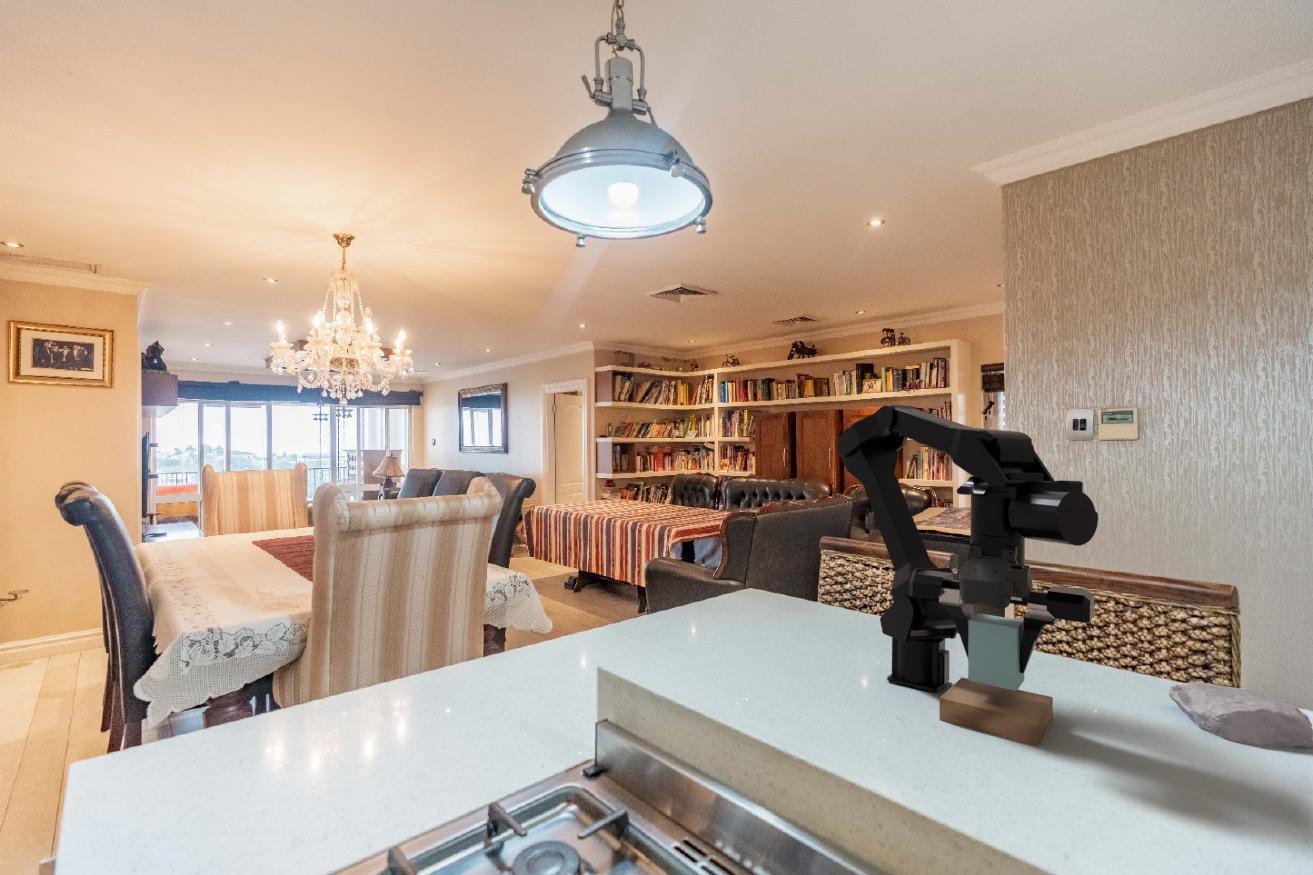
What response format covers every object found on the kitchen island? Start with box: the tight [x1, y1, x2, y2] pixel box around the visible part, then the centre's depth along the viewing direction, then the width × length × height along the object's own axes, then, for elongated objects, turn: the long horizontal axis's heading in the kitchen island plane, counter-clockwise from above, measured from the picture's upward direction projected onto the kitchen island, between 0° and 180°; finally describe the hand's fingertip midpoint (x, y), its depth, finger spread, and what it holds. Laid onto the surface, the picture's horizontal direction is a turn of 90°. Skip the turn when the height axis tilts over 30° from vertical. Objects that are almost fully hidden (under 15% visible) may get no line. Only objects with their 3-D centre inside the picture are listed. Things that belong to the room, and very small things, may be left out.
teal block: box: [967, 612, 1025, 691], centre depth 74 cm, size 5×5×7 cm
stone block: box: [1168, 682, 1313, 750], centre depth 74 cm, size 12×5×10 cm
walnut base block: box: [938, 676, 1054, 748], centre depth 73 cm, size 10×10×3 cm
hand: (996, 667), depth 74 cm, fingers closed on teal block, 5 cm apart
